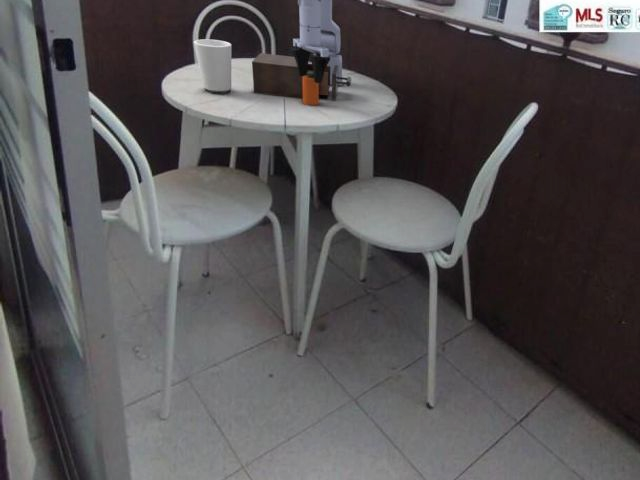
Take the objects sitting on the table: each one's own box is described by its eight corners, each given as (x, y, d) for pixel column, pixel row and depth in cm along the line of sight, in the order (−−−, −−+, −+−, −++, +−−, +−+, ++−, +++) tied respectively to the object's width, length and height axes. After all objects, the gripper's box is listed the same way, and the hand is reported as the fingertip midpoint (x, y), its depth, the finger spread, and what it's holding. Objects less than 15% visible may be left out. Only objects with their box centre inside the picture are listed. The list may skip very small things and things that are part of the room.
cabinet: (308, 87, 165) (307, 58, 160) (303, 98, 154) (302, 67, 149) (262, 82, 163) (260, 52, 158) (254, 92, 152) (251, 61, 147)
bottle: (321, 103, 152) (321, 73, 147) (313, 106, 149) (313, 75, 144) (307, 100, 153) (307, 70, 148) (299, 103, 150) (299, 72, 145)
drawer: (351, 89, 166) (352, 67, 162) (349, 99, 156) (350, 75, 152) (295, 83, 164) (295, 60, 160) (290, 93, 154) (290, 68, 150)
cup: (193, 91, 146) (186, 42, 138) (210, 84, 154) (205, 37, 146) (225, 97, 145) (220, 48, 137) (241, 90, 153) (237, 43, 145)
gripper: (283, 20, 140) (284, 73, 148) (313, 31, 133) (313, 86, 141) (304, 21, 145) (305, 72, 153) (335, 31, 137) (334, 84, 145)
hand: (310, 79), depth 147 cm, fingers open, 7 cm apart
